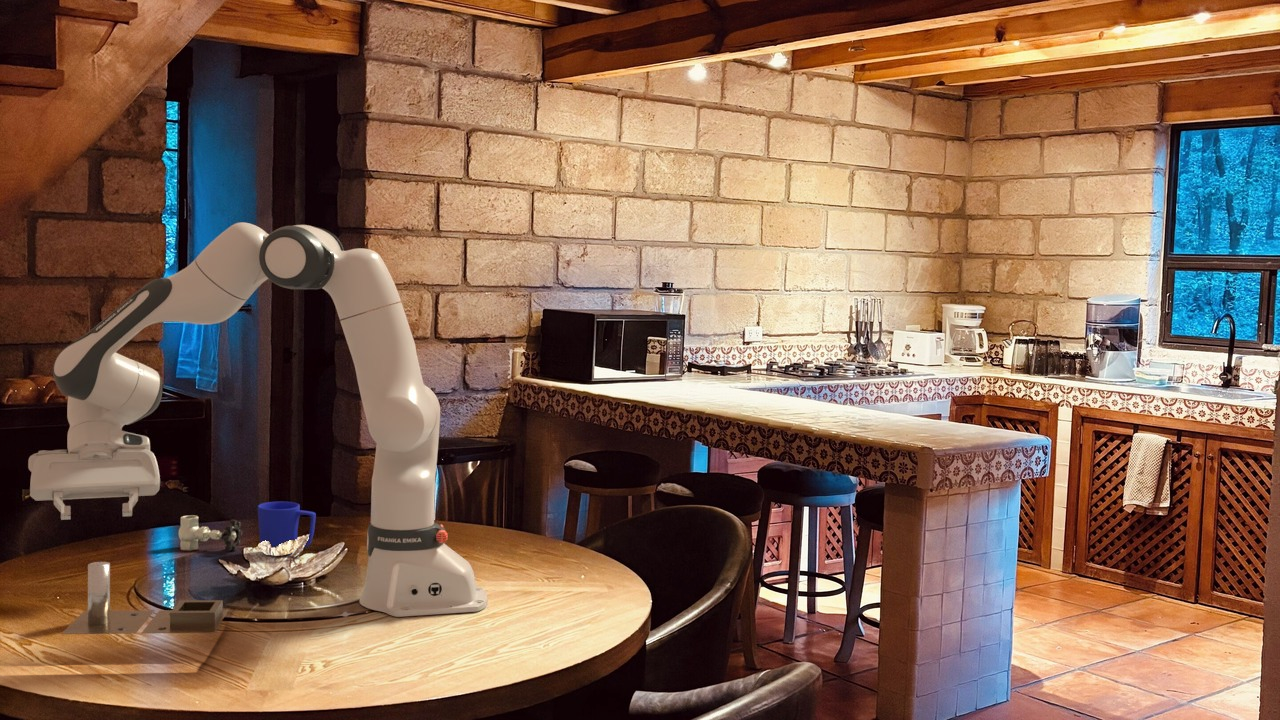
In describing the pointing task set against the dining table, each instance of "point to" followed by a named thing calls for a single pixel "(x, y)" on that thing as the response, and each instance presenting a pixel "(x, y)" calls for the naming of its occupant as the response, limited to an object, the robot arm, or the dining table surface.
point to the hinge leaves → (157, 620)
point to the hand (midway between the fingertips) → (96, 516)
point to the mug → (282, 522)
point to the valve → (207, 534)
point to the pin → (98, 593)
